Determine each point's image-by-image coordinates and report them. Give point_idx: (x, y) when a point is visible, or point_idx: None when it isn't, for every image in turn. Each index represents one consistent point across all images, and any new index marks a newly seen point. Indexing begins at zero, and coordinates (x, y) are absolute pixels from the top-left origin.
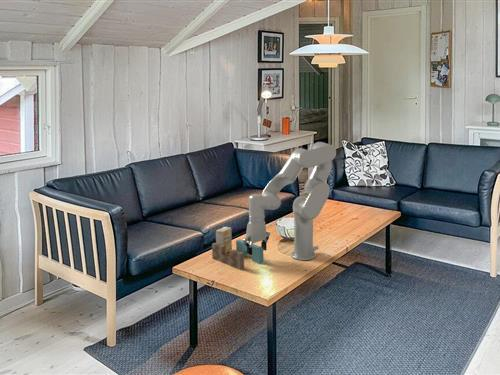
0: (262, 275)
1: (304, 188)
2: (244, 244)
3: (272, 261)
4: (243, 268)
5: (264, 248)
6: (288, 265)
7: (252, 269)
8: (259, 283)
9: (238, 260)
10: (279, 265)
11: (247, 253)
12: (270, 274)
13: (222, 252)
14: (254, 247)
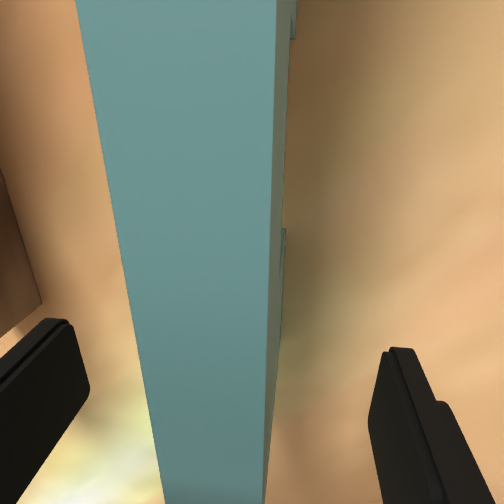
0: (98, 462)
1: None
2: (102, 43)
3: (370, 380)
4: (31, 304)
5: (375, 438)
6: (376, 501)
7: (96, 362)
8: (22, 498)
9: None
10: (328, 460)
11: (48, 327)
12: (152, 486)
13: None
14: (157, 424)
